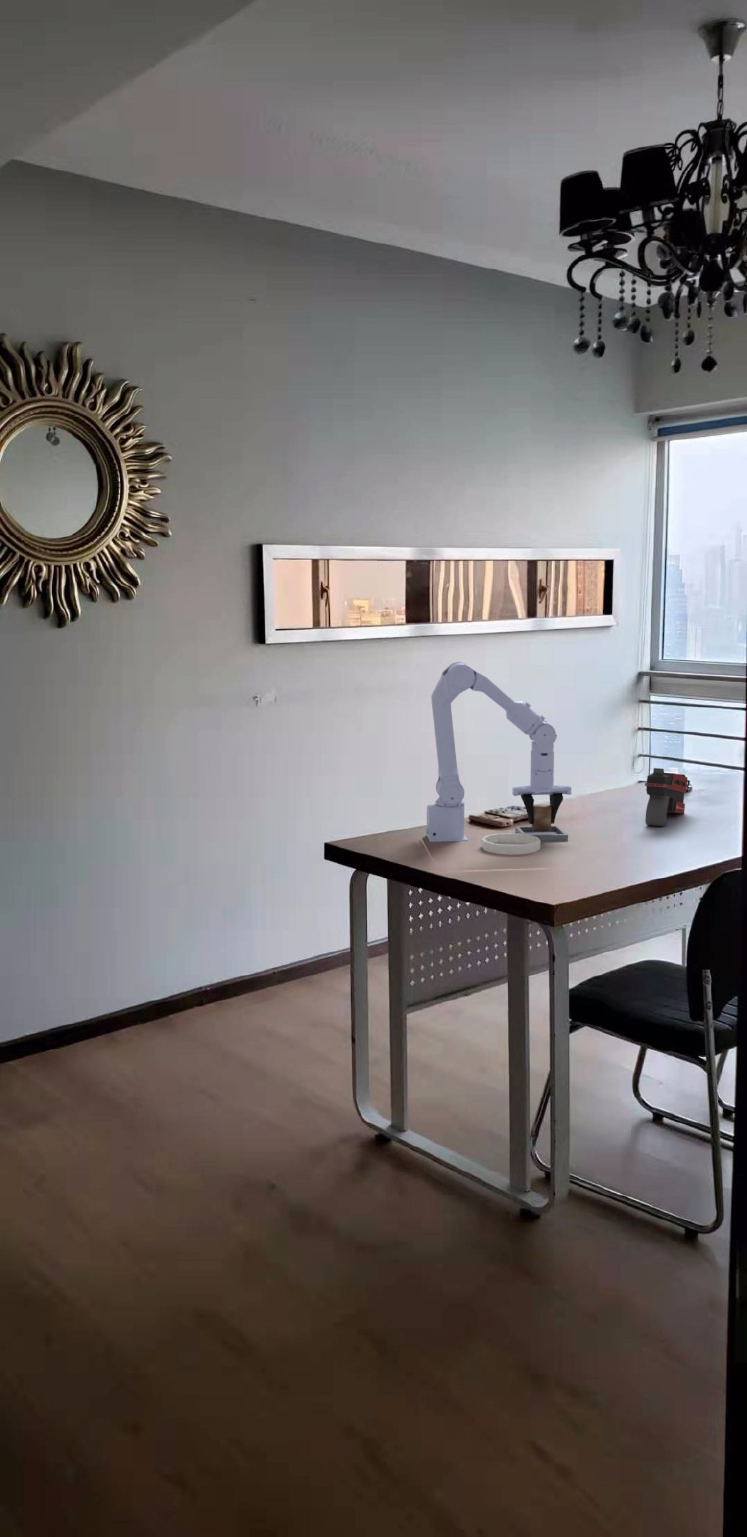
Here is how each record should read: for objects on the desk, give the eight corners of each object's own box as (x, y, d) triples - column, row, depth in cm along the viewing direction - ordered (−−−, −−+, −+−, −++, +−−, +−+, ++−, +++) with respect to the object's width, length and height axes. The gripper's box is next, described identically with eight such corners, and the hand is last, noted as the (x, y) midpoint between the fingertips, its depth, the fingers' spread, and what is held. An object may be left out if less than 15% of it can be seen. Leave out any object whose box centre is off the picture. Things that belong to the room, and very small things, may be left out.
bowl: (487, 856, 280) (487, 846, 280) (478, 843, 294) (478, 833, 293) (544, 855, 281) (544, 844, 281) (532, 842, 294) (533, 832, 294)
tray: (523, 843, 294) (524, 835, 294) (515, 833, 305) (515, 826, 305) (567, 841, 295) (568, 834, 295) (557, 832, 306) (557, 825, 305)
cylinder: (533, 831, 297) (533, 808, 296) (530, 827, 302) (530, 804, 301) (552, 831, 297) (553, 807, 296) (549, 827, 302) (549, 804, 301)
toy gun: (641, 824, 310) (646, 766, 311) (663, 827, 331) (668, 773, 332) (661, 826, 308) (666, 768, 309) (683, 829, 329) (687, 775, 329)
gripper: (516, 772, 293) (515, 827, 295) (574, 771, 294) (573, 825, 296) (511, 768, 300) (510, 821, 302) (567, 767, 301) (567, 820, 303)
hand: (541, 823), depth 299 cm, fingers closed on cylinder, 5 cm apart
